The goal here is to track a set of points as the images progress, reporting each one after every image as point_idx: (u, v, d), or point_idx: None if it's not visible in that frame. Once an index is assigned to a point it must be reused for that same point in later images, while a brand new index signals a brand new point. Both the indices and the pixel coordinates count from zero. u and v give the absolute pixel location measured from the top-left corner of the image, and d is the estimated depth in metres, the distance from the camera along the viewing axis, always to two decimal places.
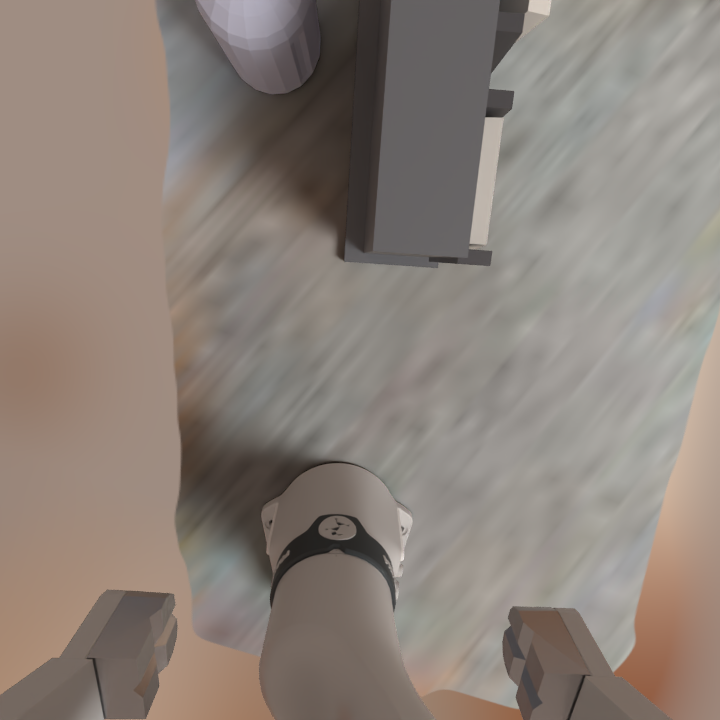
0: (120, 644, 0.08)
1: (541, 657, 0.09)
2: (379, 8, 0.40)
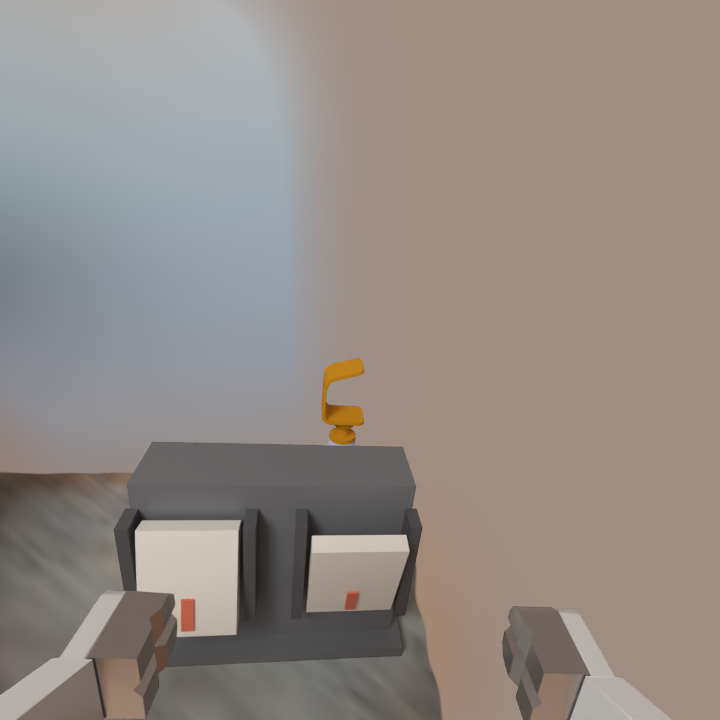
0: (120, 644, 0.08)
1: (541, 657, 0.09)
2: None
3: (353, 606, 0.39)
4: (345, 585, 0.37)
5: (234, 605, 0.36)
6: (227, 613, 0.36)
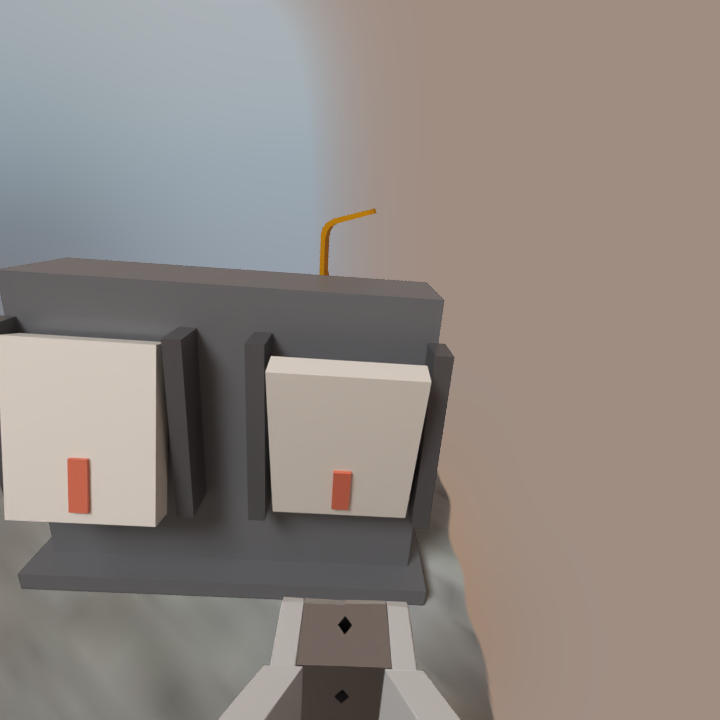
0: (322, 651, 0.09)
1: (349, 650, 0.09)
2: None
3: (344, 503, 0.25)
4: (329, 457, 0.23)
5: (151, 475, 0.23)
6: (141, 489, 0.23)
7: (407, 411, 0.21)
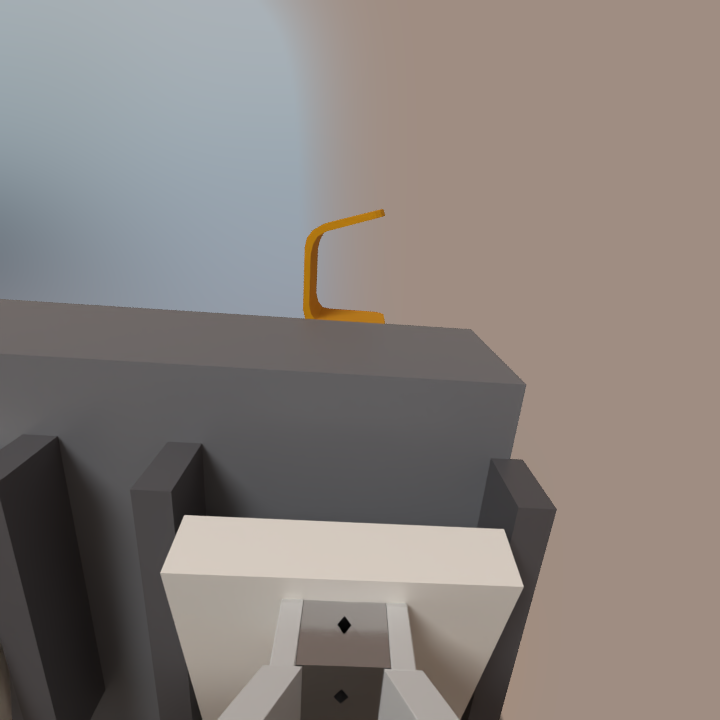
0: (321, 651, 0.09)
1: (348, 650, 0.09)
2: None
3: None
4: None
5: None
6: None
7: (465, 628, 0.10)
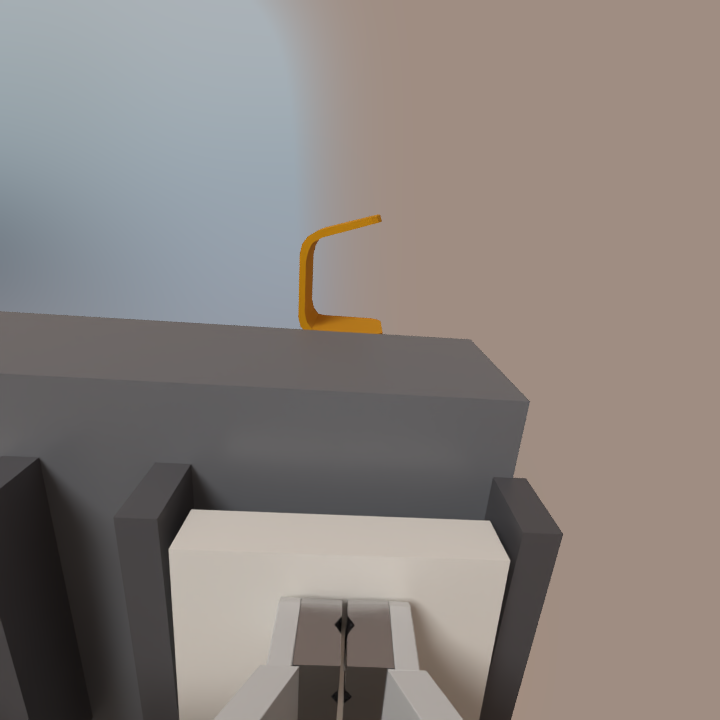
0: (318, 651, 0.09)
1: (352, 650, 0.09)
2: None
3: None
4: None
5: None
6: None
7: (461, 621, 0.11)
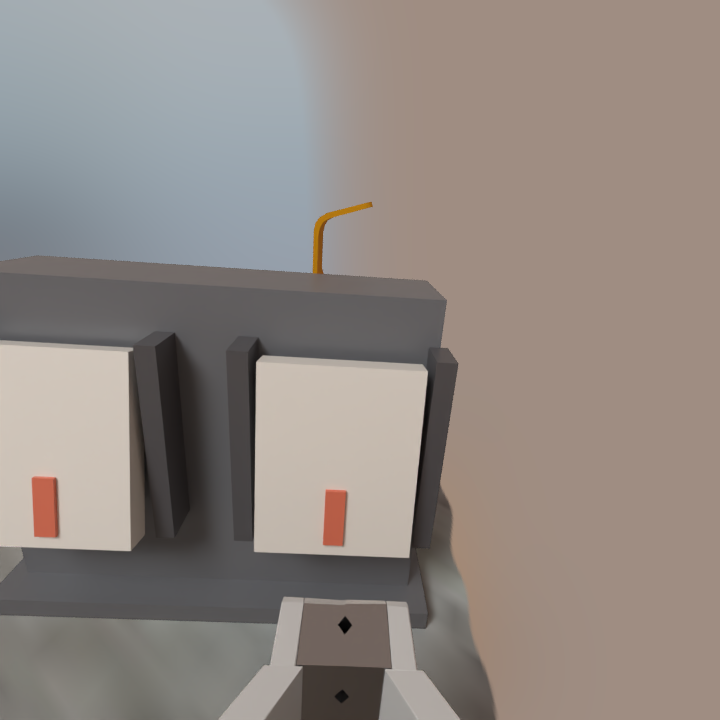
0: (322, 651, 0.09)
1: (349, 650, 0.09)
2: None
3: (338, 535, 0.21)
4: (321, 470, 0.21)
5: (125, 495, 0.21)
6: (114, 510, 0.21)
7: (404, 408, 0.20)
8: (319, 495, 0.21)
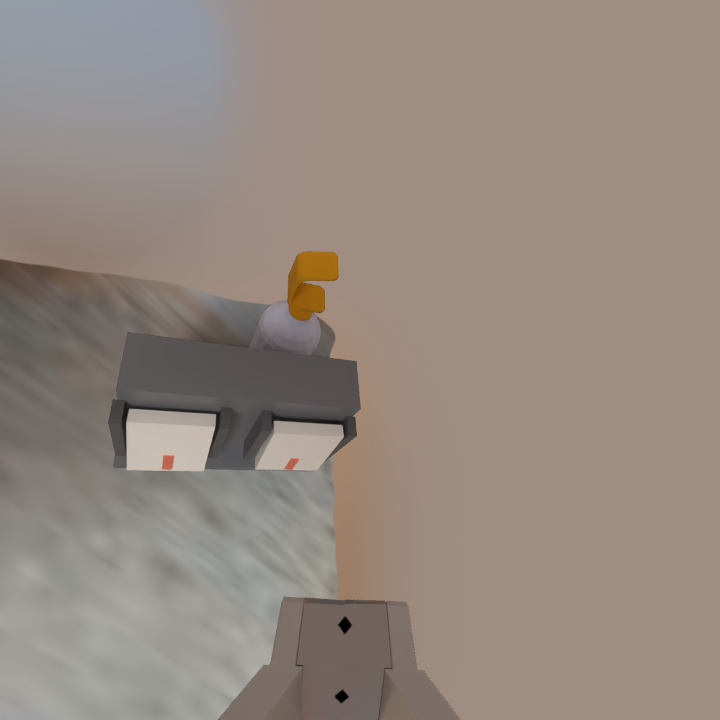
0: (322, 651, 0.09)
1: (349, 650, 0.09)
2: None
3: (291, 467, 0.53)
4: (290, 454, 0.50)
5: (204, 459, 0.48)
6: (198, 462, 0.48)
7: (330, 443, 0.49)
8: (287, 459, 0.51)
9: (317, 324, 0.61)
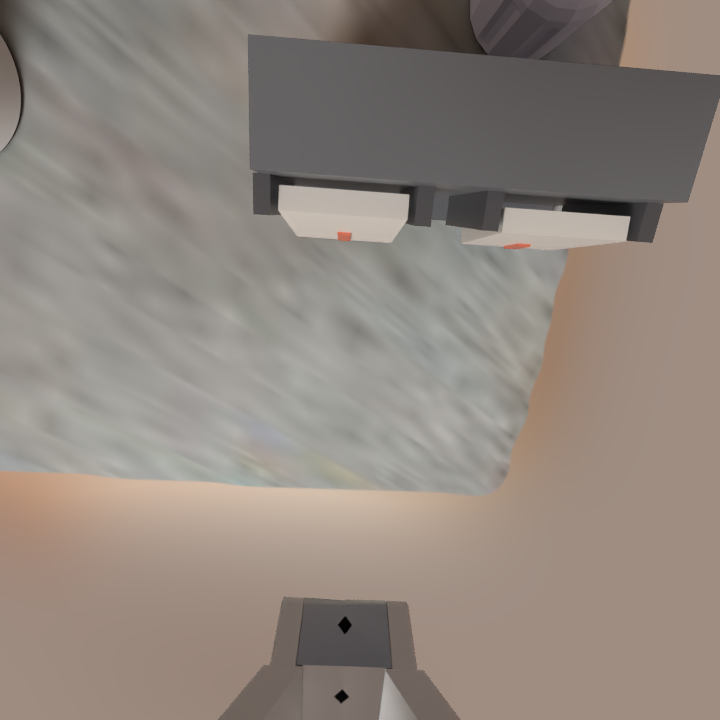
0: (322, 651, 0.09)
1: (349, 650, 0.09)
2: None
3: (515, 248, 0.35)
4: (519, 242, 0.32)
5: (392, 237, 0.33)
6: (384, 238, 0.34)
7: (595, 241, 0.29)
8: (512, 243, 0.33)
9: None
